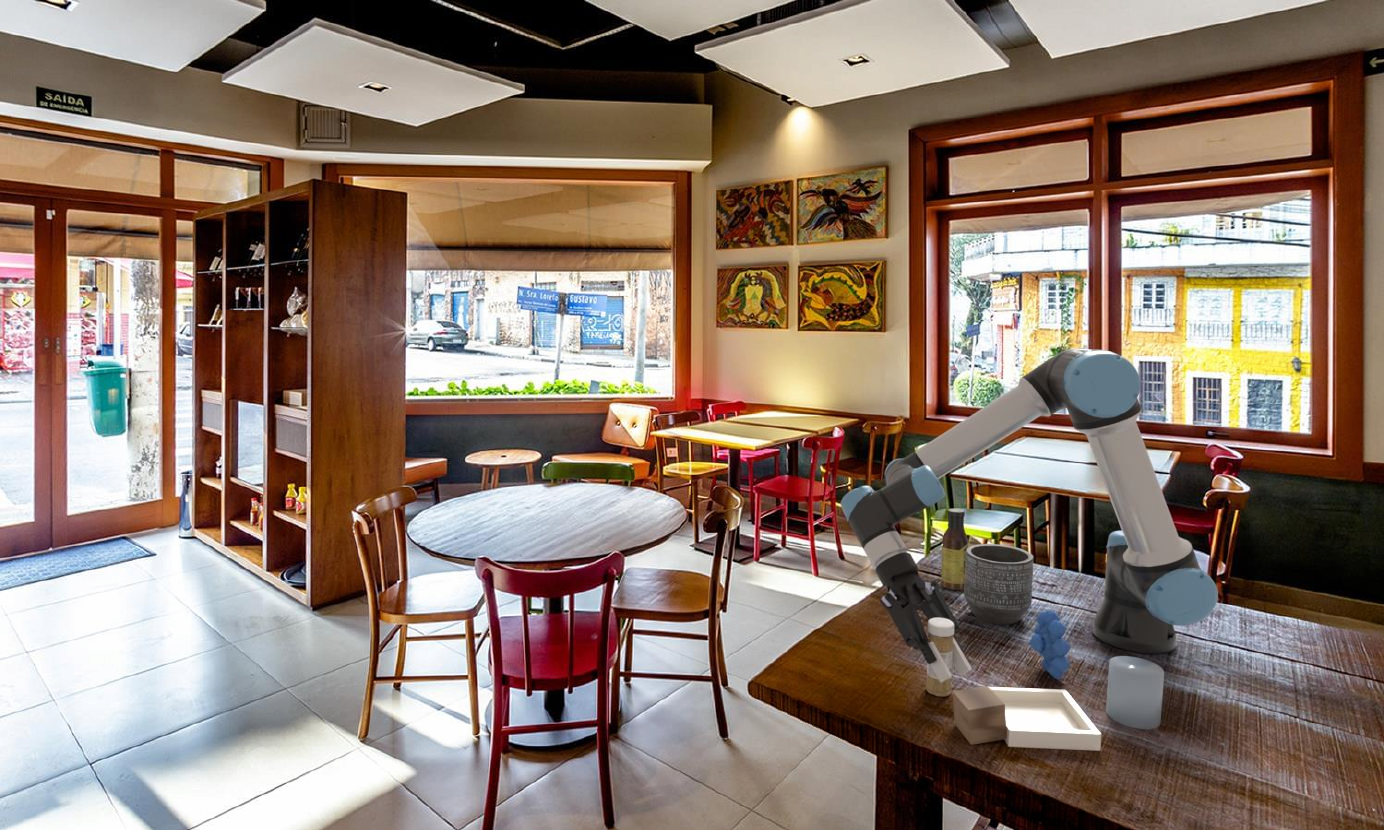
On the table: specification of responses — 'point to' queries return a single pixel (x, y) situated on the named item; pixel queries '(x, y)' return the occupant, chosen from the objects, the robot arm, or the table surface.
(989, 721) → the walnut block
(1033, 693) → the tray
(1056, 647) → the grapes
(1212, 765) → the table surface
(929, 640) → the sprinkles bottle
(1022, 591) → the planter
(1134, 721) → the pale grey rounded cylinder
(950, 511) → the sauce bottle
